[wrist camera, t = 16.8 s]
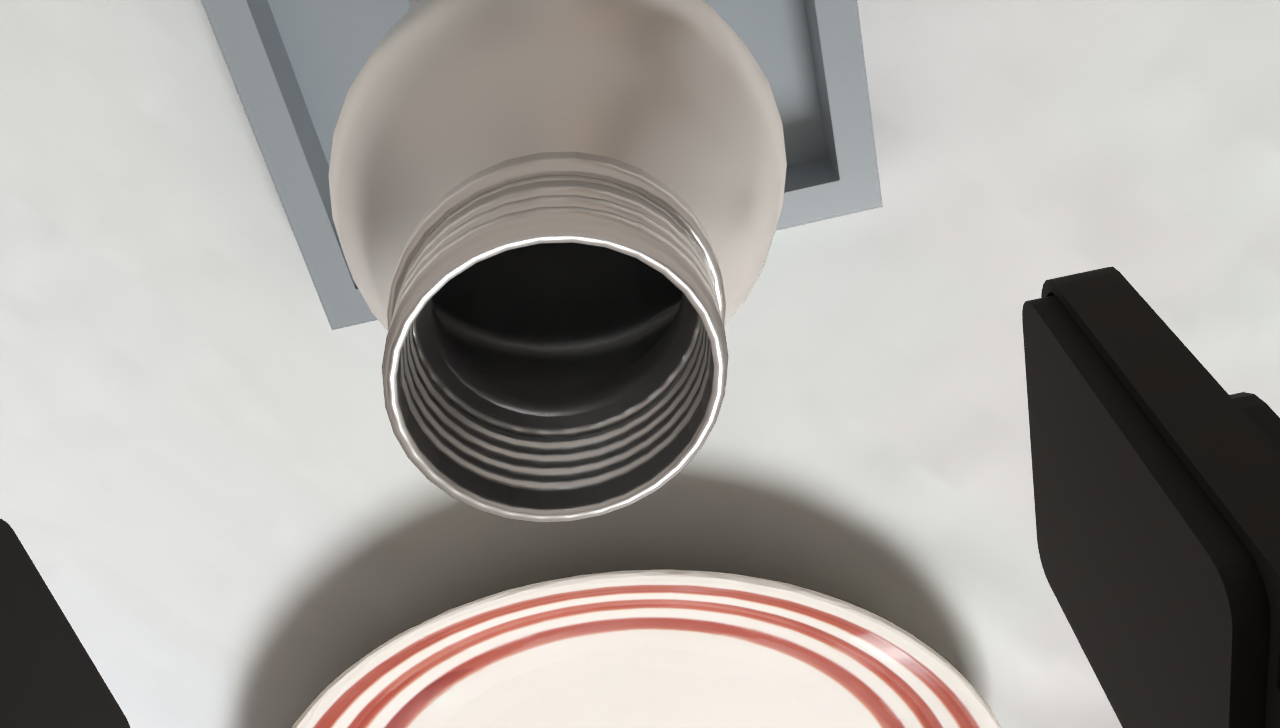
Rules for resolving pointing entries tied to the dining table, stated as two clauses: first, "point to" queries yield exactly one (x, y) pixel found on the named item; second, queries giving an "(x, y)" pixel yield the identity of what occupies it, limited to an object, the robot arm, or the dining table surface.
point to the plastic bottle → (556, 238)
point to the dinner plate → (652, 662)
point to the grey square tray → (373, 3)
